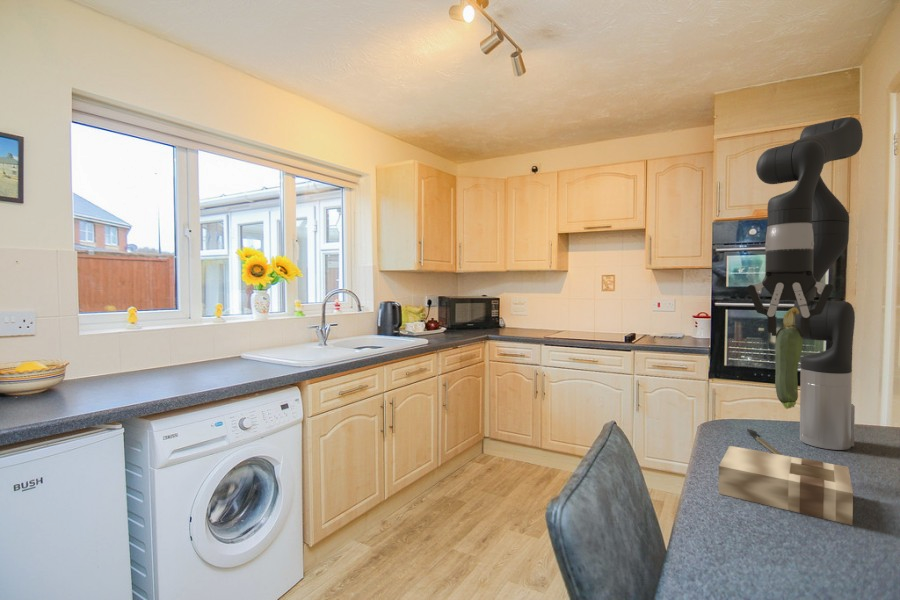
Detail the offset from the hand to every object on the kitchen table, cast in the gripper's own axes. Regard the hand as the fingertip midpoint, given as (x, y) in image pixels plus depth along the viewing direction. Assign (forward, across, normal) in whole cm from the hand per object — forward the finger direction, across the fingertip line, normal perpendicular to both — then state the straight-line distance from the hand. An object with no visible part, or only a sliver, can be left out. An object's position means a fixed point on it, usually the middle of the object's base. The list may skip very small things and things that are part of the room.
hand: (788, 335), depth 90 cm
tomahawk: (+28, +3, -16) cm, 32 cm away
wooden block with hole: (+27, 0, +12) cm, 30 cm away
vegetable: (+14, 0, 0) cm, 14 cm away
